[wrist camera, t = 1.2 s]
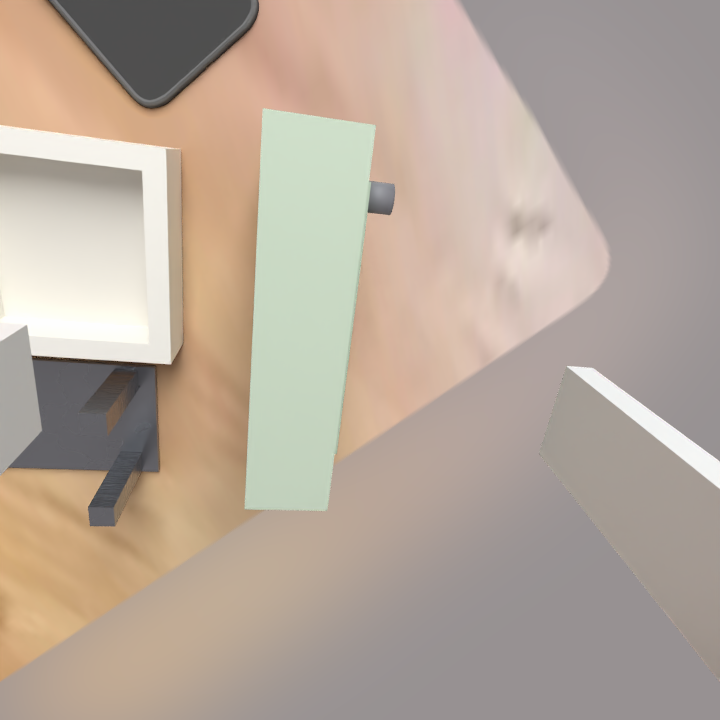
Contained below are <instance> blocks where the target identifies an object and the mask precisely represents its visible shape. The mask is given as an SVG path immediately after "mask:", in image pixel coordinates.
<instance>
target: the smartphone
mask: <svg viewBox="0 0 720 720" xmlns="http://www.w3.org/2000/svg"><path fill="white" fill-rule="evenodd" d="M49 1H50V3H51V4H52V5H53V6H54V7H55V8H56V10H57V11H58V12H59V13H60V14H61V15H62V17H63V18H64V19H65V20H66V21H67V22H68V24H69V25H70V26H71V27H72V28H73V29H74V30H75V32H76V33H77V34H78V35H79V36H80V37H81V39H82V40H83V41H84V42H85V43H86V44H87V46H88V47H89V48H90V49H91V50H92V51H93V52H94V54H95V55H96V56H97V57H98V58H99V59H100V61H101V62H102V63H103V64H104V65H105V66H106V68H107V69H108V70H109V71H110V72H111V73H112V75H113V76H114V77H115V78H116V79H117V80H118V81H119V83H120V84H121V85H122V86H123V87H124V88H125V90H126V91H127V92H128V93H129V94H130V95H131V97H132V98H133V99H134V100H135V101H137V102H138V103H139V104H141V105H142V106H144V107H147V108H158V107H161V106H163V105H165V104H167V103H168V102H170V101H171V100H172V99H173V98H174V97H175V96H176V95H178V94H179V93H180V92H181V91H182V90H183V89H184V88H185V87H186V86H188V85H189V84H190V83H191V82H192V81H193V80H194V79H195V78H196V77H198V76H199V75H200V74H201V73H202V72H203V71H204V70H205V67H206V66H208V65H209V64H210V63H211V62H212V61H213V62H214V61H215V60H216V59H217V58H219V57H220V56H221V55H222V54H223V53H224V52H225V51H226V50H227V49H228V48H230V47H231V46H232V45H233V44H234V43H235V42H236V41H237V40H238V39H239V38H241V37H242V36H243V35H244V34H245V33H246V32H247V31H248V30H249V29H250V28H251V27H252V25H253V24H254V22H255V20H256V18H257V15H258V11H259V2H258V0H49Z"/></svg>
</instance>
